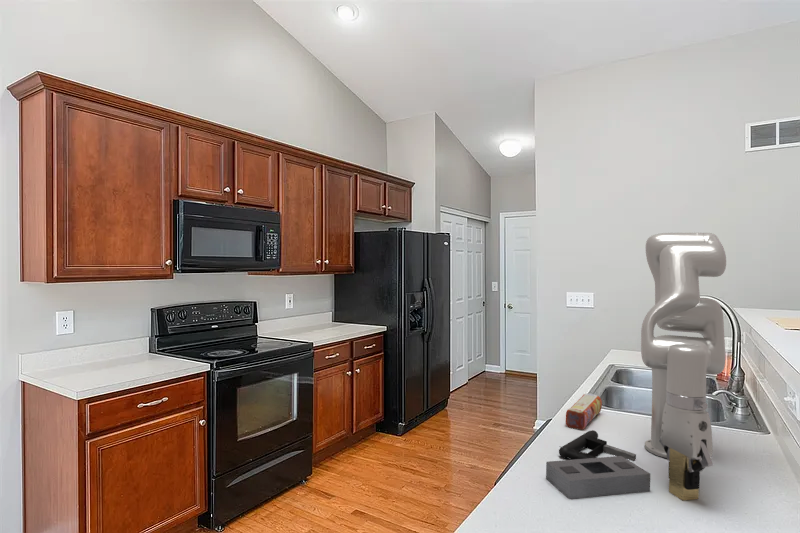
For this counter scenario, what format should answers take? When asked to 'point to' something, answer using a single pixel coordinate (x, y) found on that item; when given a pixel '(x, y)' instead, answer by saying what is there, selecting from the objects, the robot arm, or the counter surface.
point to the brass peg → (679, 477)
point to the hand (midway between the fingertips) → (683, 482)
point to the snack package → (583, 411)
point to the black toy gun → (591, 448)
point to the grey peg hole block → (597, 477)
